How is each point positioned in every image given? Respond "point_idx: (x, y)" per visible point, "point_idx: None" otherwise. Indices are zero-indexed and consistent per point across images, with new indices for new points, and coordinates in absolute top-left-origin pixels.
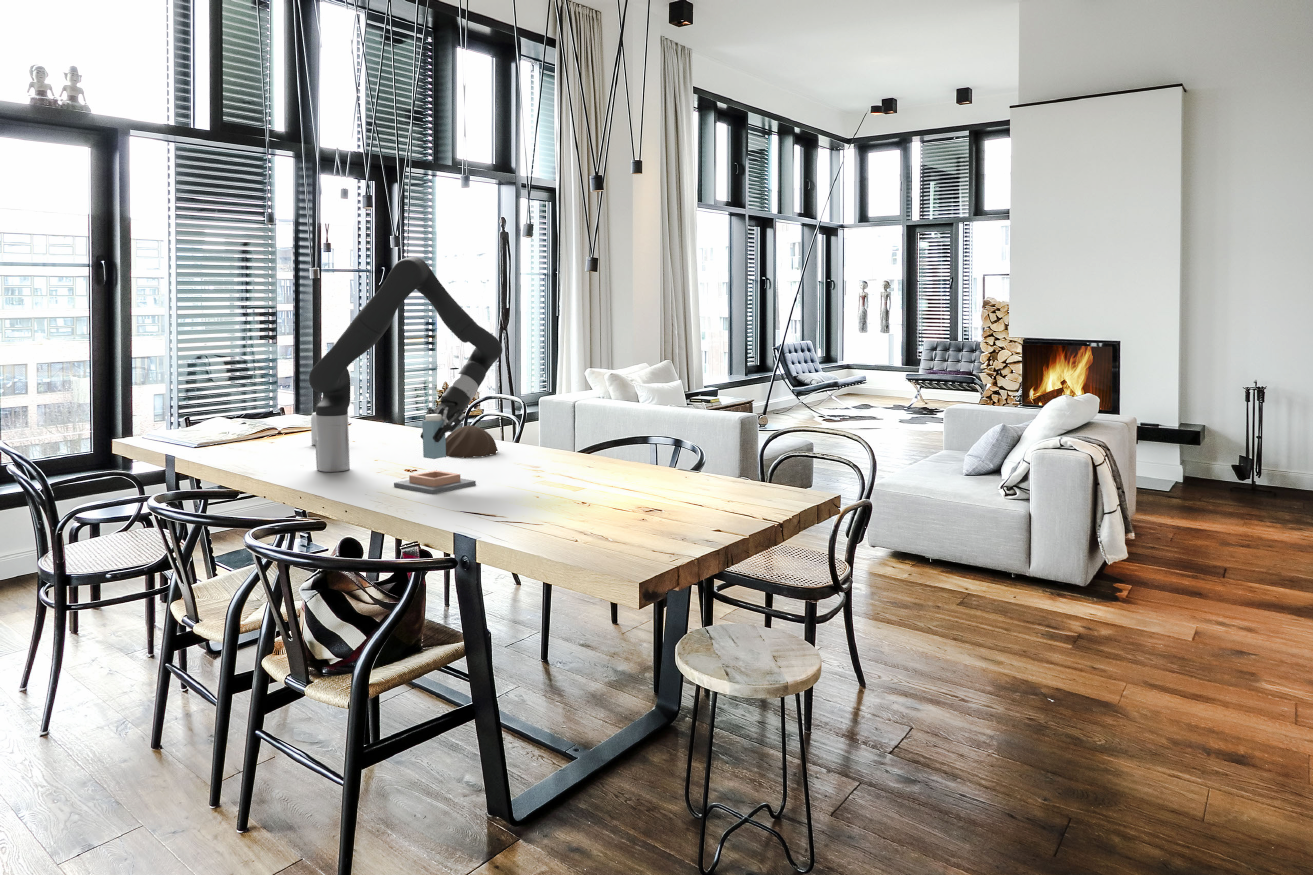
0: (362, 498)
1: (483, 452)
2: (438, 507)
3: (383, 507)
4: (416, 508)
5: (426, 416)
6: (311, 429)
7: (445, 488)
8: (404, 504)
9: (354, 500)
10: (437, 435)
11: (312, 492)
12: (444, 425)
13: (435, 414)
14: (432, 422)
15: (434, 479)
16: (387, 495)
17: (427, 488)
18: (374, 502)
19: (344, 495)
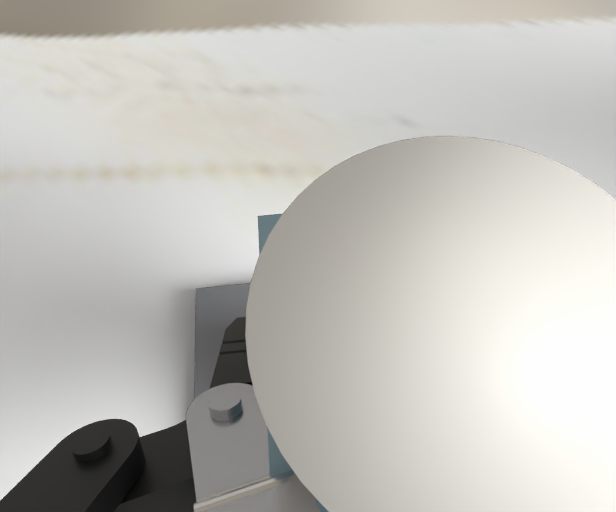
0: (348, 84)
1: None
2: (9, 172)
3: (173, 64)
4: (68, 119)
5: (464, 147)
6: None
7: (196, 370)
8: (150, 124)
9: (339, 55)
10: (244, 332)
11: (566, 28)
12: (192, 444)
13: (603, 472)
14: (275, 220)
15: None
16: (328, 161)
17: (239, 287)
18: (260, 80)
19: (441, 69)
